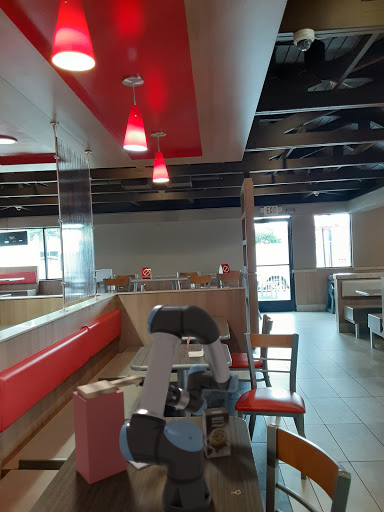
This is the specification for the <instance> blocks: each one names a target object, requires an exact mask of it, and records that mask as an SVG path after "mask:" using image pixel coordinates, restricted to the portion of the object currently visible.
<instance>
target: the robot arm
mask: <svg viewBox="0 0 384 512" xmlns="http://www.w3.org/2000/svg"><path fill="white" fill-rule="evenodd" d="M147 316H148V317H147V321H146V324H147V325H146V327H147V328H146V329H147V332H148V334H149V335H150V339H151V341H152V346H151V349H150V354H149V357H148V358H149V359H148V364H147V368H146V373H145V377H144V379H142V382H139V383H135V384H134V386H135V387H136V388H137V387H142V388H141V394H140V399H139V403H138V408H137V410H136V411H134V412H132V414H131V417H130V419H129V420H127V421H126V420H125V423H124V425H123V426H122V428H121V431H120V438H119V444H120V449H121V453H122V455H123V457H124V458H125V459H126V460H129V461H133V462H136V463H145V464H151V465H153V466H158V467H164V468H165V469H166V470H165V471H166V477H165V481H164V485H163V489H162V491H161V505H162V508H163V509H164V510H165V512H205V511H207V509H208V508H209V507H210V505H211V502H212V496H211V495H212V494H211V492H212V491H211V489H210V486H209V484H208V481H207V478H206V476H205V463H204V461H205V459H204V456H205V455H204V443H203V430H202V429H201V427H199V425H198V424H197V423H195V422H193V421H190V420H187V419H182V418H181V419H180V418H179V419H173V420H169V421H167V419H166V417H165V416H164V412H165V405H168V406H171V407H174V408H175V410H182V411H184V412H186V413H189V414H191V415H195V416H203V409H208V403H207V399H206V398H204V397H203V396H204V391H215V392H224V393H225V392H226V393H236V392H237V391H238V389H239V380H240V379H239V376H238V374H236V373H233V372H232V373H231V370H230V368H229V364H228V361H227V359H226V355H225V352H224V347H223V345H222V343H221V340H220V338H221V331H220V330H221V329H220V327H219V325H218V322H217V320H215V318H213V316H212V315H211V314H210V313H209V312H208V311H206V310H205V309H204V308H202V307H200V306H198V305H195V304H169V303H168V304H167V303H166V304H158V305H156V306H154V307H153V308H152V309H150V312H149V314H148V315H147ZM183 337H185V338H188V337H191V338H194V339H195V341H196V342H197V343H198V344H199V345H200V347H201V349H202V351H203V355H204V357H205V359H206V362H207V365H208V368H209V370H210V371H207V368H206V367H205V366H202V365H195V364H194V365H192V366H190V368H189V369H188V370H189V371H188V374H187V380H186V388H185V389H182V388H179V387H177V386H175V385H170V380H171V377H172V370H173V366H174V361H175V360H174V359H175V356H176V350H177V347H178V346H180V345H181V344H182V340H183ZM131 376H133V375H131V374H129V373H127V374H126V376H125V378H127V377H131Z"/></svg>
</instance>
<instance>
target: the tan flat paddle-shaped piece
mask: <svg viewBox="0 0 384 512" xmlns="http://www.w3.org/2000/svg"><path fill="white" fill-rule="evenodd" d="M142 378H143V377H142V376H141V375H139V374H134V375H132V376H131V377H127V378H126V377H123V378H119V379H115V380H111V381H108V380H106V379H105V380H104V379H103V380H100V381H96V382H93V383H89V384H84V385H80V386H79V385H78V386H77V387H76V391H77V393H78V394H80V395H81V396H82V397H84V398H85V399H91V398H95V397H99V396H102V395H106V394H110V393H113V392H117V391H116V388H118V389H121V388H123V387H124V388H125V387H128V386H131V385H135V383H139V382H142V380H143V379H142Z"/></svg>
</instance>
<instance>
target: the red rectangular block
mask: <svg viewBox="0 0 384 512" xmlns="http://www.w3.org/2000/svg"><path fill="white" fill-rule="evenodd" d="M116 391H117V392H113V393H110V394H106V395H102V396H99V397H95V398H91V399H85V398H84V397H82V396H81V395H80V394H78V393H77V390H76V391H72V403H73V405H72V406H73V421H74V423H73V424H74V426H73V428H74V443H75V444H74V446H75V465H76V466H75V468H76V471H77V472H78V474H79V475H80V476H81V477H82V478H83V479H84V480H85V481H86V482H87V483H88V484H89V485H91V484H92V485H93V484H95V483H97V482H99V481H102V480H104V479H106V478H109V477H113V476H114V475H117V474H119V473H122V472H124V471H126V470H127V469H128V468H127V467H128V463H127V462H128V461H127V460H126V459H125V458H124V457H123V455H122V453H121V449H120V444H119V438H120V431H121V428H122V426H123V425H124V423H125V422H126V419H125V416H126V414H125V396H124V395H125V393H124V390H122V389H121V388H116Z"/></svg>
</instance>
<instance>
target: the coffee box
mask: <svg viewBox="0 0 384 512" xmlns="http://www.w3.org/2000/svg"><path fill="white" fill-rule="evenodd" d="M230 432H231V431H230V412H229V411H228V409H226V407H225V406H222V407H212V408H206V409H203V414H202V438H203V443H204V444H203V453H204V454H205V456H206V458H207V459H211V458H219V457H226V456H231V437H230V435H231V434H230Z"/></svg>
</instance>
